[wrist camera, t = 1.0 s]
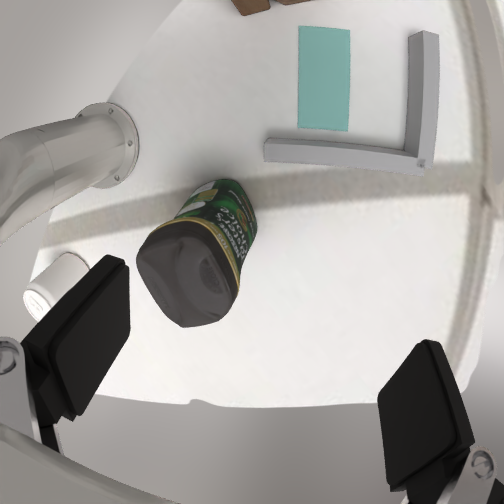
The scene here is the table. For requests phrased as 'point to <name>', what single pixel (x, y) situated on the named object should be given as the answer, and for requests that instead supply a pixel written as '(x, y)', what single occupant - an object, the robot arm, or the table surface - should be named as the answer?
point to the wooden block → (258, 5)
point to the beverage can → (53, 284)
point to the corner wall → (377, 158)
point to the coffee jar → (199, 255)
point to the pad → (324, 78)
